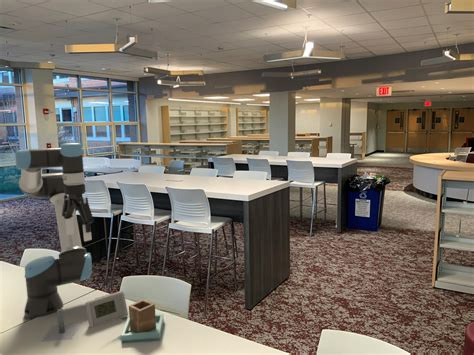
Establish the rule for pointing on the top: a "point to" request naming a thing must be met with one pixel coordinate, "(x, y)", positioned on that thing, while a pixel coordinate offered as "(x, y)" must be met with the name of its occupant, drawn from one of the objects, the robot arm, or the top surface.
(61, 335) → the post base
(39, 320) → the top surface
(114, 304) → the digital clock
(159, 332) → the tray
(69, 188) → the robot arm
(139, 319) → the wooden pen holder
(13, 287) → the top surface
